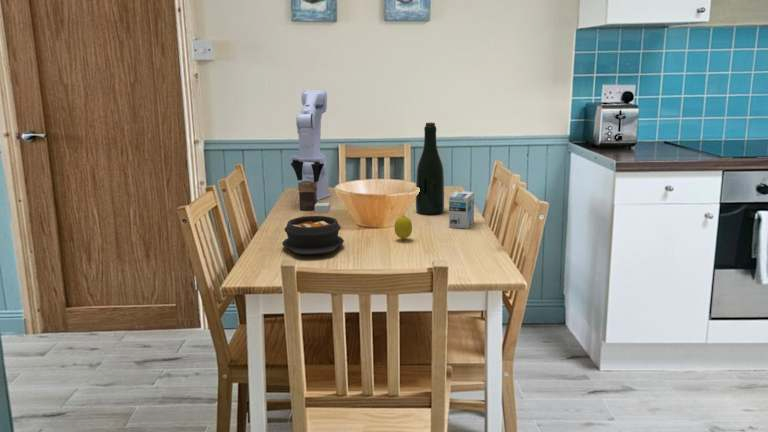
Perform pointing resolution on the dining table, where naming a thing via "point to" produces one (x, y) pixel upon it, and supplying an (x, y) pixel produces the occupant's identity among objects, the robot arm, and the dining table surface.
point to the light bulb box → (461, 209)
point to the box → (307, 200)
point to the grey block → (322, 207)
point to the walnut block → (307, 186)
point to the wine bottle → (430, 176)
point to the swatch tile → (325, 202)
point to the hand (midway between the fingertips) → (308, 180)
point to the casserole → (312, 235)
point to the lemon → (403, 227)
